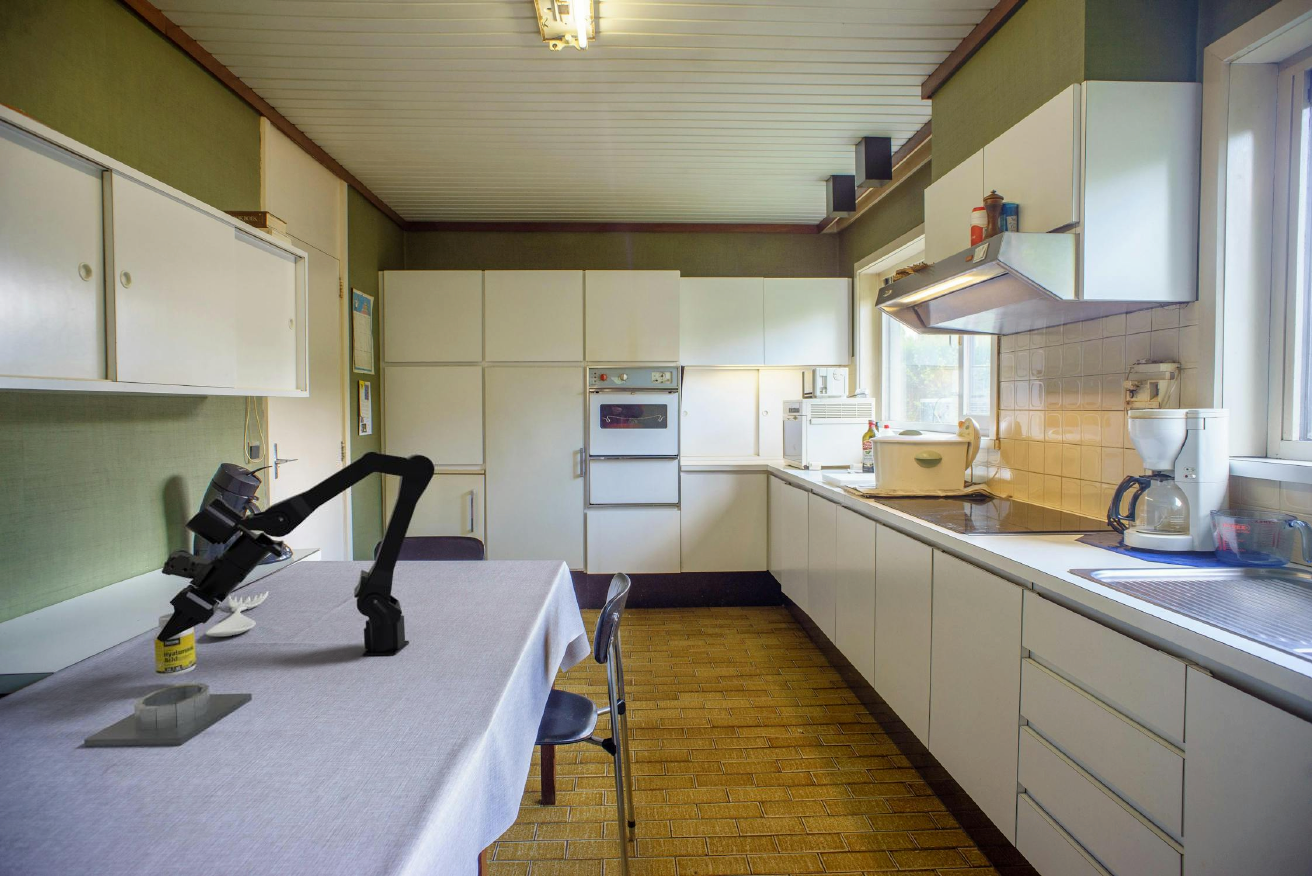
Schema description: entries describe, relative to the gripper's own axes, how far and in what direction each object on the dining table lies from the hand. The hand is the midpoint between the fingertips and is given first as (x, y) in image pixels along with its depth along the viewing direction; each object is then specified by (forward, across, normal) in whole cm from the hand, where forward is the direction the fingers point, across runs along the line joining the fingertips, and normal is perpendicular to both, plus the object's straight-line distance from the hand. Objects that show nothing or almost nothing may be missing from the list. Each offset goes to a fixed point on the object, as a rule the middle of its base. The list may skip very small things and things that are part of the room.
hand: (164, 635), depth 103 cm
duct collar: (+4, +15, +10) cm, 18 cm away
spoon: (+4, -40, +10) cm, 41 cm away
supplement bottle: (+4, 0, +6) cm, 7 cm away
